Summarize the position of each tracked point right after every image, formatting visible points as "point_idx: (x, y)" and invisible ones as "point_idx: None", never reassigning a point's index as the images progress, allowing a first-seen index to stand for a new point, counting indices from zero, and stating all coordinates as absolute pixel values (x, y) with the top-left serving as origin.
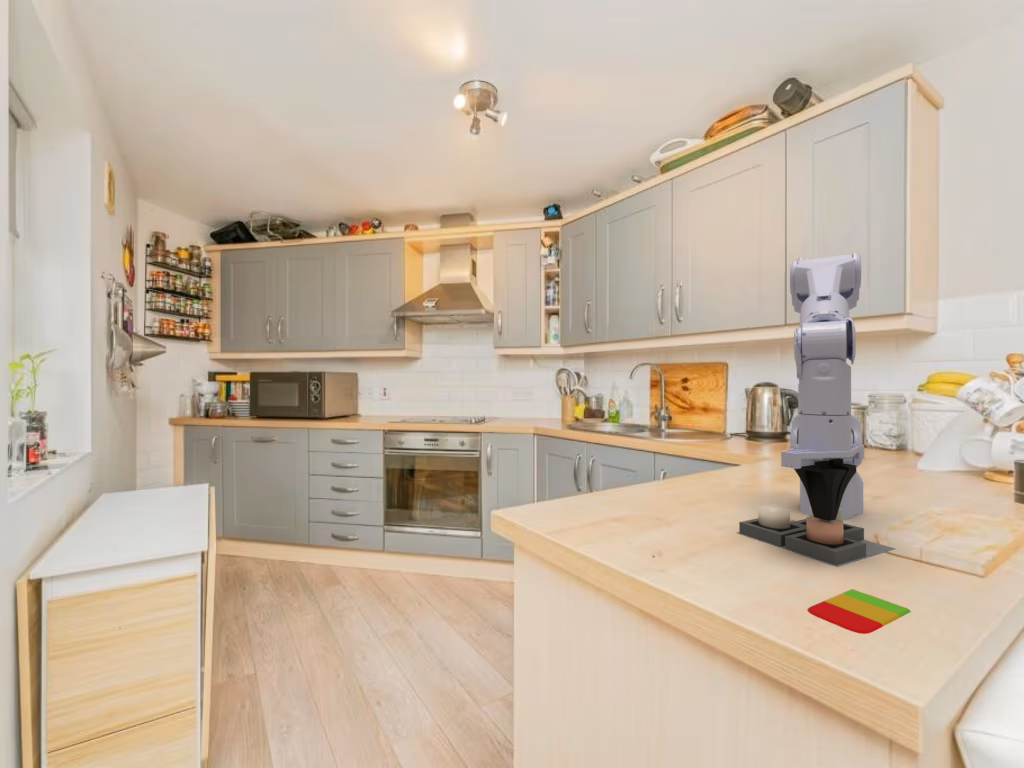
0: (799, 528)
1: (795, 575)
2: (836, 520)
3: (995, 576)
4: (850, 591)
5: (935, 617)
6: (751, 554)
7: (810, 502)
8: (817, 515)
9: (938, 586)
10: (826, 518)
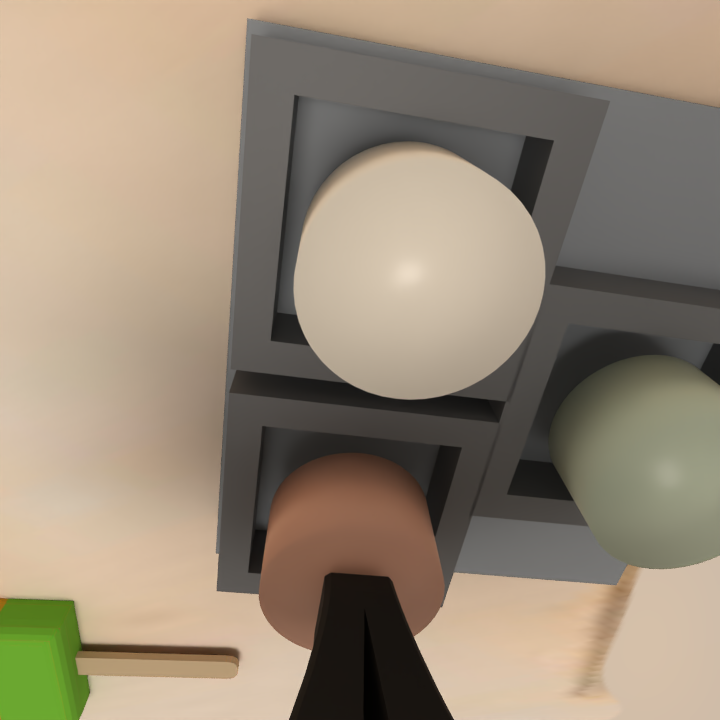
0: None
1: (90, 447)
2: (413, 619)
3: (611, 705)
4: (20, 647)
5: (176, 706)
6: (130, 219)
7: (313, 651)
8: (320, 605)
9: None
10: (314, 637)
